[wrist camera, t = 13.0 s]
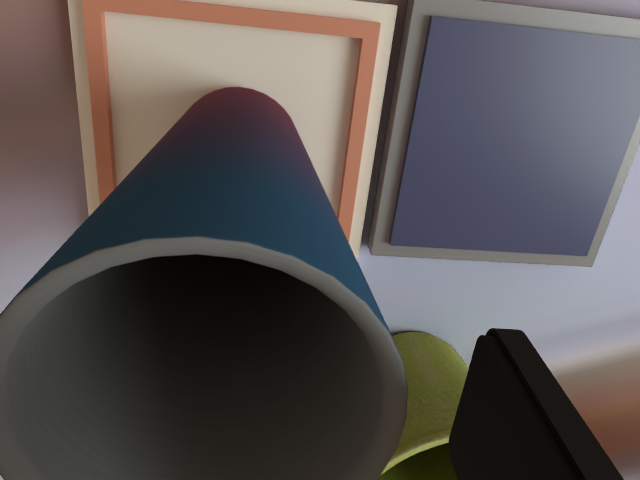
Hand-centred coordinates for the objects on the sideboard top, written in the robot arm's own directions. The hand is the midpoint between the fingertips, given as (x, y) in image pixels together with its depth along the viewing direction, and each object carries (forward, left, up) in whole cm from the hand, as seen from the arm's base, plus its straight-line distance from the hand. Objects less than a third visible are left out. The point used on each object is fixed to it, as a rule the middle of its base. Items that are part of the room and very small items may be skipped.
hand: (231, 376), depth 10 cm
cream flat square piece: (+1, 0, -14) cm, 14 cm away
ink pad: (-11, -1, -14) cm, 18 cm away
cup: (+1, 0, -14) cm, 14 cm away
